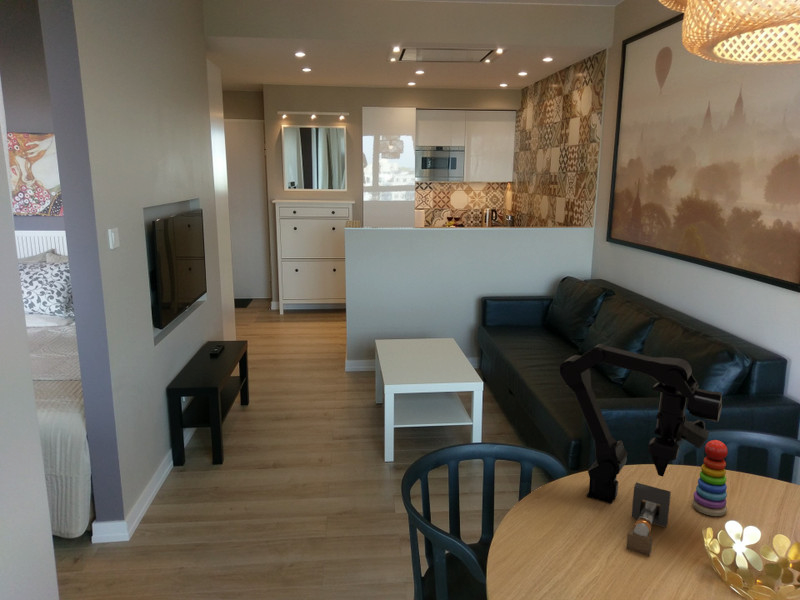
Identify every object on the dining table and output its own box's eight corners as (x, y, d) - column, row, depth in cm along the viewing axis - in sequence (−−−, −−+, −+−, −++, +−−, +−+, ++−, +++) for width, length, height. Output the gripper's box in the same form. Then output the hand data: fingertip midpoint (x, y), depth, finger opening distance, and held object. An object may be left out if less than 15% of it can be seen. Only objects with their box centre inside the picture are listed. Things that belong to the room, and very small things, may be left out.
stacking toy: (731, 519, 142) (740, 450, 138) (697, 516, 143) (704, 447, 140) (720, 502, 150) (728, 436, 146) (687, 499, 151) (694, 433, 147)
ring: (633, 512, 144) (636, 482, 143) (667, 522, 140) (670, 491, 138) (631, 517, 143) (634, 486, 141) (665, 527, 138) (669, 496, 136)
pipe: (641, 510, 146) (643, 490, 145) (662, 516, 144) (664, 496, 142) (626, 549, 131) (628, 527, 130) (649, 556, 129) (651, 534, 127)
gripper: (704, 433, 127) (695, 495, 130) (712, 404, 142) (703, 461, 146) (651, 420, 133) (643, 480, 136) (664, 394, 148) (656, 449, 151)
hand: (663, 467), depth 142 cm, fingers open, 9 cm apart
